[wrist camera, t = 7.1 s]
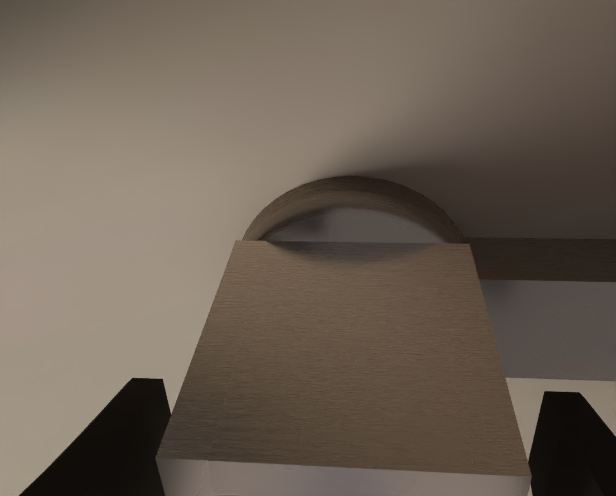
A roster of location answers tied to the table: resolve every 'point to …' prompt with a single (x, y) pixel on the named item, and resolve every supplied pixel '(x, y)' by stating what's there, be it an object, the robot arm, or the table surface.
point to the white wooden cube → (345, 379)
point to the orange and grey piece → (490, 268)
